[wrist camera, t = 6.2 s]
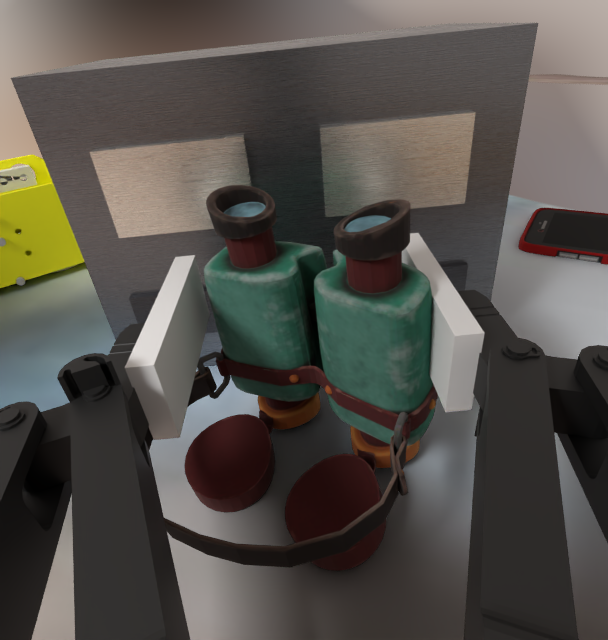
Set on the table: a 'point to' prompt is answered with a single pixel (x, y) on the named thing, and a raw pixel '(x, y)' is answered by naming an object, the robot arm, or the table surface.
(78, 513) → the robot arm
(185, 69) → the box
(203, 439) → the binoculars
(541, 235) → the cell phone
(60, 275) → the table surface
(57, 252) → the yellow toy chassis
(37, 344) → the table surface
